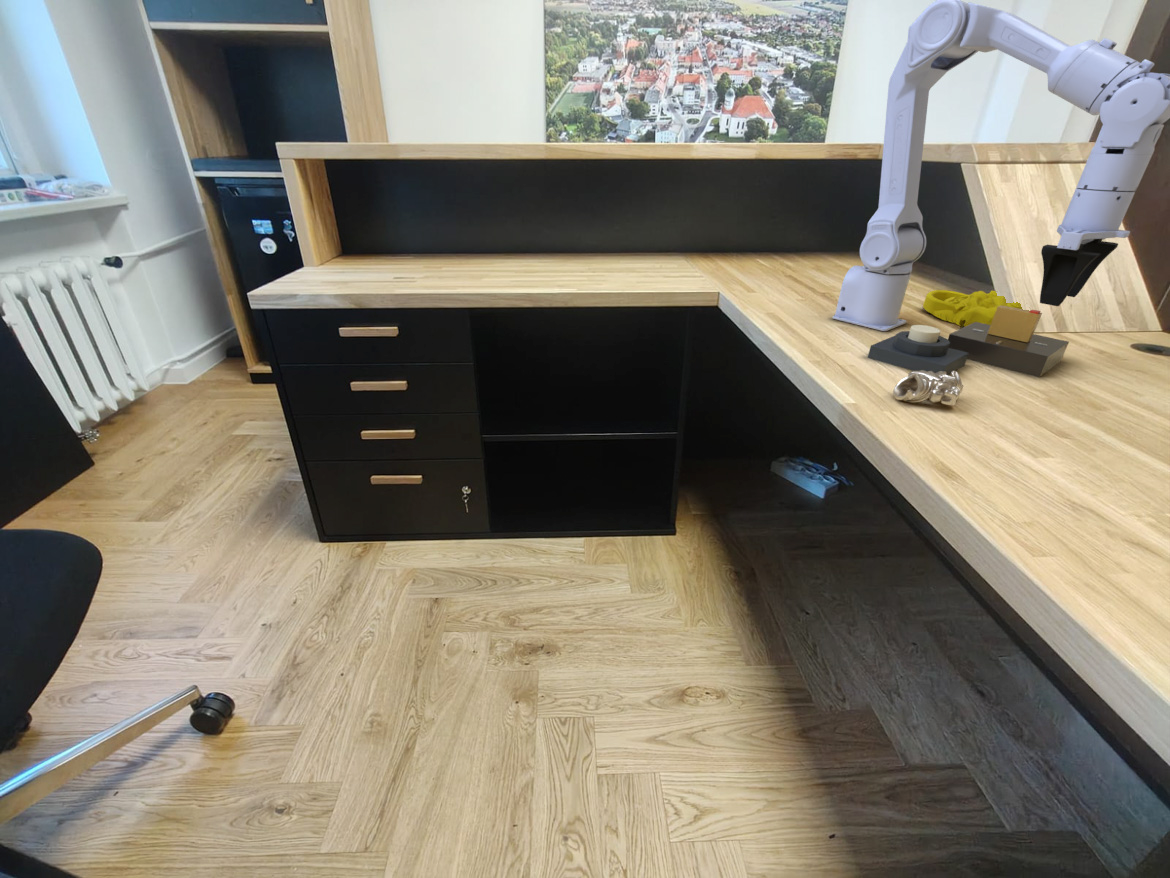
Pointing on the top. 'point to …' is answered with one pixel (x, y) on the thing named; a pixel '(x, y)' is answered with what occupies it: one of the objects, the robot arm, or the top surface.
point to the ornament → (929, 387)
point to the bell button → (924, 334)
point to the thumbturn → (1014, 323)
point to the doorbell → (918, 354)
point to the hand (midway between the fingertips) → (1057, 299)
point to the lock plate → (1008, 350)
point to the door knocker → (965, 306)
